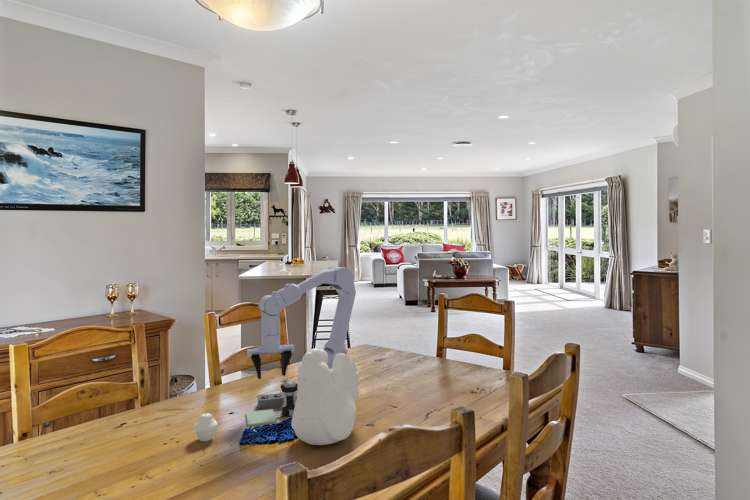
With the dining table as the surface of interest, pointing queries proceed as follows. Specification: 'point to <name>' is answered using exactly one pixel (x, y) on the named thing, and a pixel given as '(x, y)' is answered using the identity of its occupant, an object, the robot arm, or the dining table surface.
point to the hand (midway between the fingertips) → (271, 376)
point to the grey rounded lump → (205, 427)
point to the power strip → (271, 401)
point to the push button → (288, 398)
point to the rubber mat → (260, 417)
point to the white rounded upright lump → (325, 398)
